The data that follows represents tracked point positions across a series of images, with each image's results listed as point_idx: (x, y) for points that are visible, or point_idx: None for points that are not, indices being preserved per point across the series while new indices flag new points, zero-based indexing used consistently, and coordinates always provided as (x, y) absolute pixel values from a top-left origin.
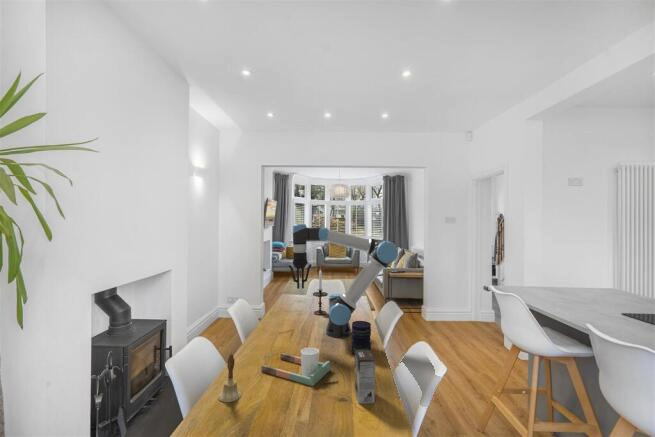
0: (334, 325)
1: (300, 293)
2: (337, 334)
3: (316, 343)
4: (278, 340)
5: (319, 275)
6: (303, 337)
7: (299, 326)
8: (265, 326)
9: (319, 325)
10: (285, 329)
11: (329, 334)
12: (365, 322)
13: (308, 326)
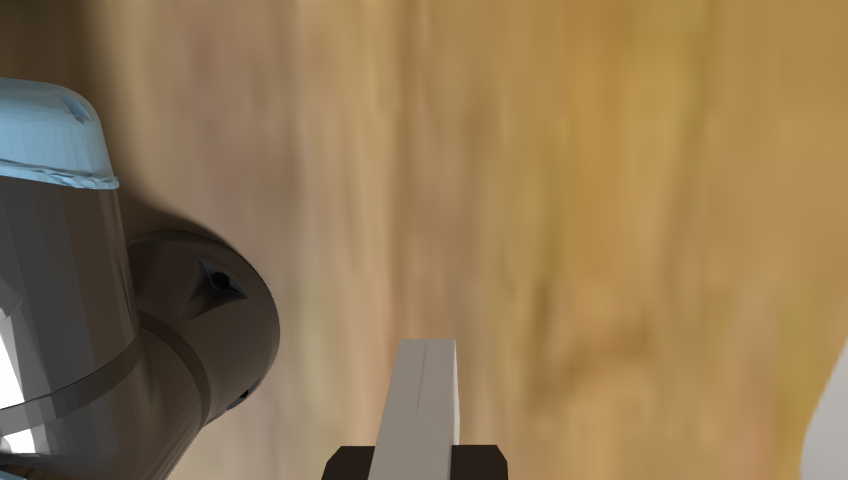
0: (169, 292)
1: (428, 355)
2: (174, 240)
3: (334, 118)
4: (650, 184)
5: None
6: (445, 242)
7: None
8: (763, 471)
9: None
10: (597, 404)
11: (243, 267)
12: None
13: None
